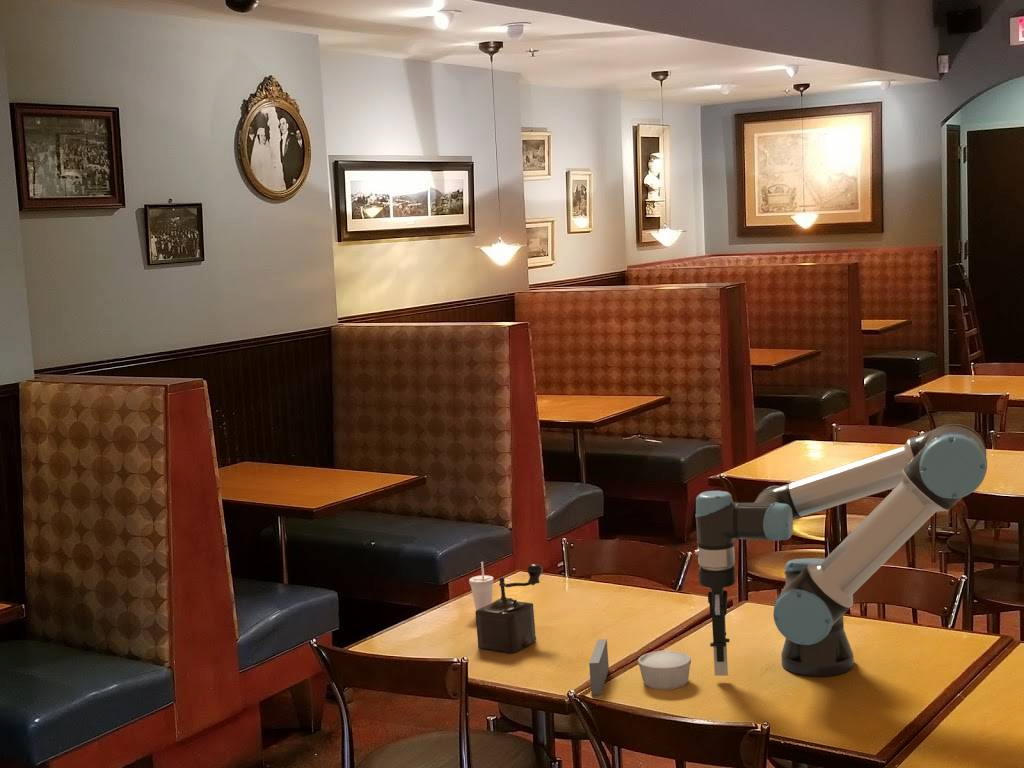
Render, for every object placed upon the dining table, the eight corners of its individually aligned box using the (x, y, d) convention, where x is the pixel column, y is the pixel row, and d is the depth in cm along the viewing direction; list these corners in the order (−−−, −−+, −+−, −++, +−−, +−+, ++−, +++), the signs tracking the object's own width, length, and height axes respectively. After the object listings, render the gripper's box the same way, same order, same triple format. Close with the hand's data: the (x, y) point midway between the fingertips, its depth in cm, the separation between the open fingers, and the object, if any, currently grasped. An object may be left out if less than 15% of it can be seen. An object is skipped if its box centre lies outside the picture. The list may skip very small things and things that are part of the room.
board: (608, 669, 269) (606, 639, 269) (600, 695, 255) (598, 663, 254) (599, 669, 270) (597, 639, 269) (591, 695, 255) (589, 663, 254)
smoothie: (496, 617, 313) (491, 564, 311) (471, 619, 313) (466, 566, 311) (496, 610, 319) (492, 558, 318) (472, 612, 319) (468, 559, 318)
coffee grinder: (515, 654, 284) (509, 579, 282) (476, 648, 290) (470, 575, 288) (551, 634, 297) (545, 562, 294) (513, 629, 303) (508, 558, 301)
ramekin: (640, 673, 266) (638, 650, 265) (692, 672, 264) (690, 649, 264) (638, 692, 255) (636, 668, 254) (692, 691, 253) (690, 667, 253)
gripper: (699, 557, 261) (704, 663, 264) (696, 574, 249) (702, 685, 252) (735, 557, 260) (739, 663, 263) (734, 574, 247) (739, 686, 250)
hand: (721, 674), depth 257 cm, fingers closed
